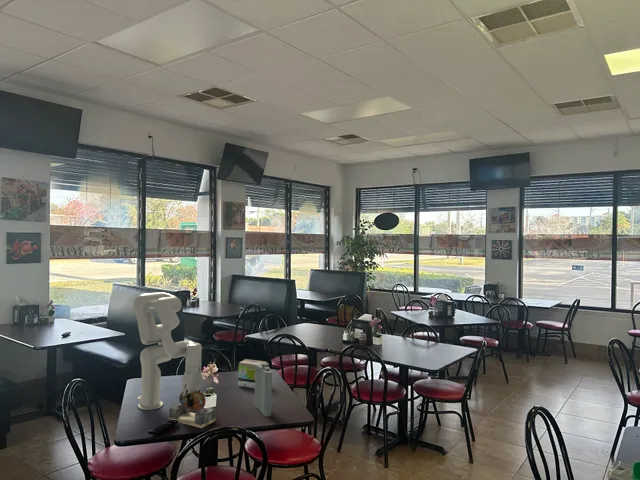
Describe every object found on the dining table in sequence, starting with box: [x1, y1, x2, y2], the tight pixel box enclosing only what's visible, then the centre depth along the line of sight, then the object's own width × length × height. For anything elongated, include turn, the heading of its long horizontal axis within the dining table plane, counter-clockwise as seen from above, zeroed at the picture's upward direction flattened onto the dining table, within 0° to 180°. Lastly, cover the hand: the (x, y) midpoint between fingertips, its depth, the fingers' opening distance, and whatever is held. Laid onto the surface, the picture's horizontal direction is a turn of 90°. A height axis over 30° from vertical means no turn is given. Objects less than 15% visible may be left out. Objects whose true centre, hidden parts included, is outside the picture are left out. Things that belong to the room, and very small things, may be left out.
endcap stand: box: [167, 403, 217, 429], centre depth 234 cm, size 10×21×6 cm, turn 64°
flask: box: [254, 362, 273, 417], centre depth 250 cm, size 17×5×25 cm, turn 27°
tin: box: [179, 391, 207, 411], centre depth 234 cm, size 15×3×8 cm, turn 64°
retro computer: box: [237, 358, 268, 389], centre depth 291 cm, size 15×10×15 cm, turn 73°
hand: (192, 405), depth 234 cm, fingers closed on tin, 2 cm apart
